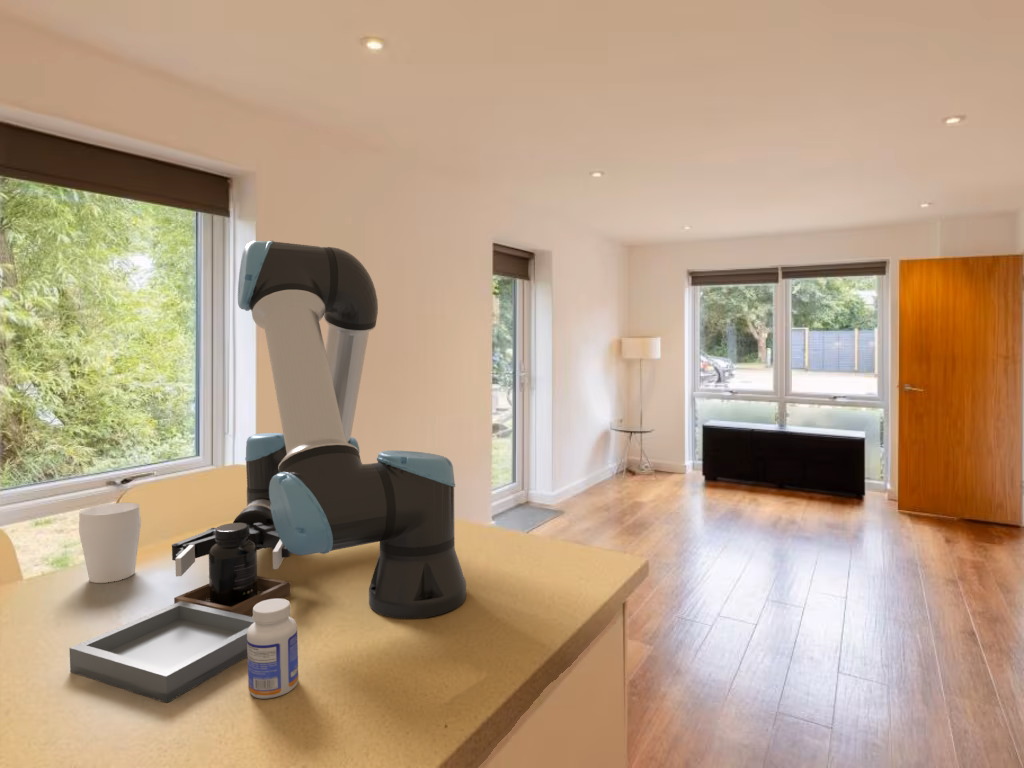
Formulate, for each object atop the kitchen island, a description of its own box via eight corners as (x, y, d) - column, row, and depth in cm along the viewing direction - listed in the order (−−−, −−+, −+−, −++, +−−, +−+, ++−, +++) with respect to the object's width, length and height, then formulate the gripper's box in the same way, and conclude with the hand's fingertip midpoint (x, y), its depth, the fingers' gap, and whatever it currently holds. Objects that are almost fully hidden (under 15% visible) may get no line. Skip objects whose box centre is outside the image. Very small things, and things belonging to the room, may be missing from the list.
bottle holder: (290, 594, 96) (290, 581, 96) (230, 623, 85) (230, 610, 85) (237, 583, 101) (236, 572, 101) (174, 610, 90) (174, 597, 90)
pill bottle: (283, 669, 73) (281, 591, 72) (307, 685, 69) (305, 603, 69) (239, 689, 69) (236, 606, 68) (263, 706, 65) (260, 619, 65)
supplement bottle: (200, 606, 92) (197, 529, 91) (238, 590, 98) (236, 518, 97) (229, 615, 88) (227, 535, 88) (267, 598, 95) (265, 523, 94)
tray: (270, 642, 80) (270, 620, 80) (167, 702, 66) (166, 676, 66) (181, 621, 86) (180, 601, 86) (70, 671, 73) (69, 647, 72)
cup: (154, 568, 108) (152, 502, 108) (116, 587, 100) (114, 516, 99) (108, 566, 109) (106, 502, 109) (67, 585, 100) (64, 515, 100)
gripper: (327, 540, 113) (314, 581, 92) (184, 549, 108) (136, 595, 87) (327, 501, 113) (313, 533, 92) (183, 508, 108) (134, 545, 87)
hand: (227, 563), depth 90 cm, fingers open, 13 cm apart
